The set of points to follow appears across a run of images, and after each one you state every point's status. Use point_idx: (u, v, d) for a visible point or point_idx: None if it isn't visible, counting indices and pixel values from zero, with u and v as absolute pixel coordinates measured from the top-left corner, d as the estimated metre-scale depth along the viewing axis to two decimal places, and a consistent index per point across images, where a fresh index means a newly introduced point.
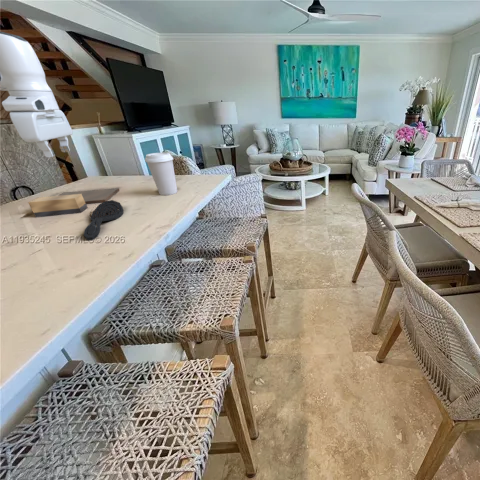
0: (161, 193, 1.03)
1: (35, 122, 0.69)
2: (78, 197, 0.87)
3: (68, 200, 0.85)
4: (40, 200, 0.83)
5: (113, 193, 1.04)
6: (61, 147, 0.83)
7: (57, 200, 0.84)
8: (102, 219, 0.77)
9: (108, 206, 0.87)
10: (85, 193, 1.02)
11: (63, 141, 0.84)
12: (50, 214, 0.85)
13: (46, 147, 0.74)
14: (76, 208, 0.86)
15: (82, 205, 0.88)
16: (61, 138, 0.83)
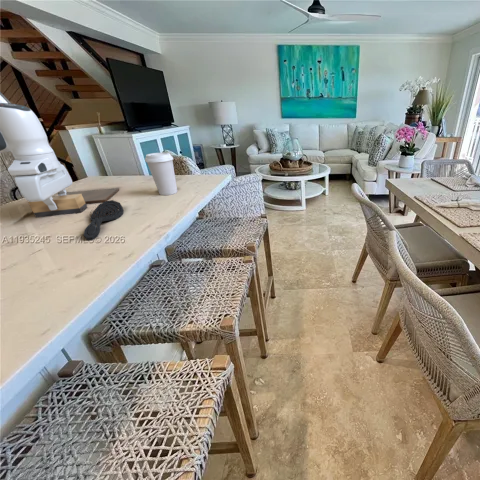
0: (161, 193, 1.03)
1: (38, 184, 0.75)
2: (78, 197, 0.87)
3: (68, 200, 0.85)
4: None
5: (113, 193, 1.04)
6: None
7: (57, 200, 0.84)
8: (102, 219, 0.77)
9: (108, 206, 0.87)
10: (85, 193, 1.02)
11: (61, 193, 0.89)
12: (50, 214, 0.85)
13: (51, 202, 0.82)
14: (76, 208, 0.86)
15: (82, 205, 0.88)
16: (60, 191, 0.88)
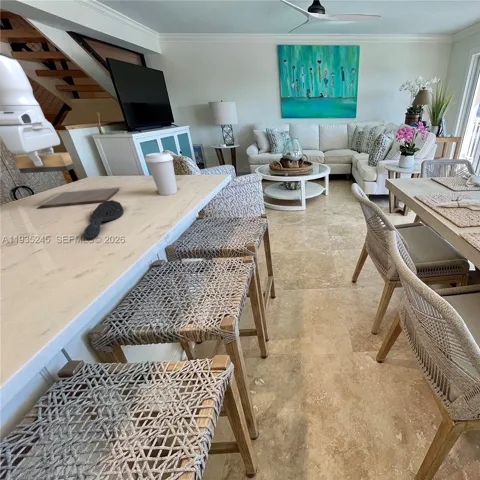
0: (161, 193, 1.03)
1: (21, 135, 0.74)
2: (65, 155, 0.85)
3: (54, 156, 0.83)
4: (25, 155, 0.81)
5: (113, 193, 1.04)
6: None
7: (43, 156, 0.82)
8: (102, 219, 0.77)
9: (108, 206, 0.87)
10: (85, 193, 1.02)
11: (48, 151, 0.87)
12: (36, 171, 0.83)
13: (36, 157, 0.80)
14: (63, 166, 0.85)
15: (69, 164, 0.87)
16: (46, 149, 0.86)
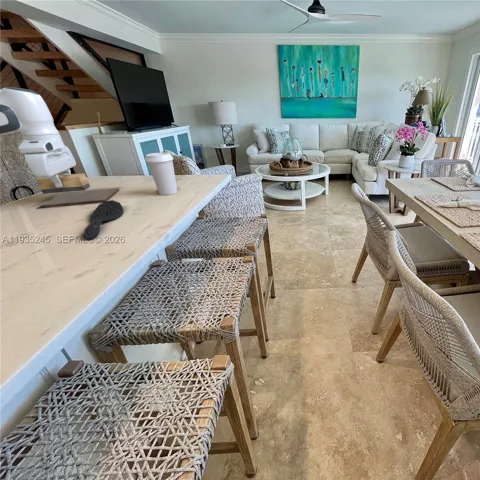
0: (161, 193, 1.03)
1: (46, 161, 0.83)
2: (82, 176, 0.95)
3: (73, 178, 0.92)
4: (47, 178, 0.91)
5: (113, 193, 1.04)
6: None
7: (62, 178, 0.91)
8: (102, 219, 0.77)
9: (108, 206, 0.87)
10: (85, 193, 1.02)
11: (66, 173, 0.96)
12: (56, 191, 0.92)
13: (57, 179, 0.89)
14: (80, 186, 0.94)
15: (85, 184, 0.96)
16: (64, 171, 0.95)
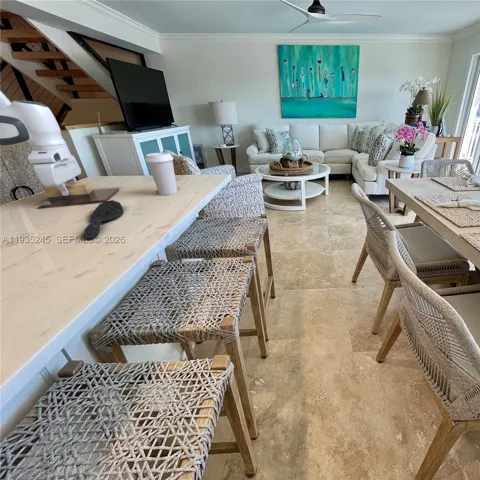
0: (161, 193, 1.03)
1: (54, 171, 0.86)
2: (87, 184, 0.98)
3: (79, 186, 0.95)
4: None
5: (113, 193, 1.04)
6: None
7: (68, 186, 0.94)
8: (102, 219, 0.77)
9: (108, 206, 0.87)
10: None
11: (72, 181, 0.99)
12: (62, 199, 0.95)
13: (63, 188, 0.92)
14: (85, 194, 0.97)
15: (90, 191, 0.99)
16: (70, 179, 0.98)
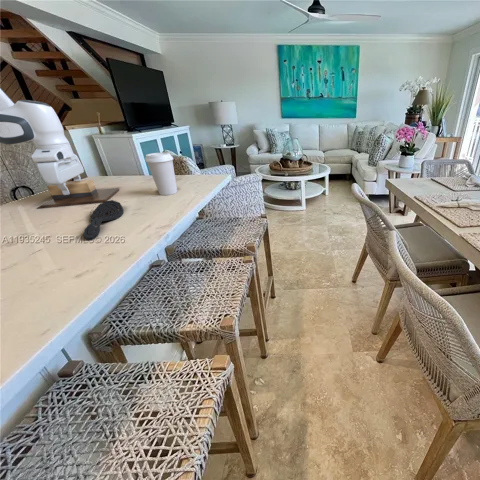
0: (161, 193, 1.03)
1: (57, 170, 0.88)
2: (90, 182, 1.00)
3: (82, 184, 0.97)
4: None
5: (113, 193, 1.04)
6: None
7: (72, 184, 0.96)
8: (102, 219, 0.77)
9: (108, 206, 0.87)
10: None
11: (76, 179, 1.02)
12: (65, 197, 0.97)
13: (64, 187, 0.93)
14: (88, 192, 0.99)
15: (93, 190, 1.01)
16: (75, 176, 1.01)
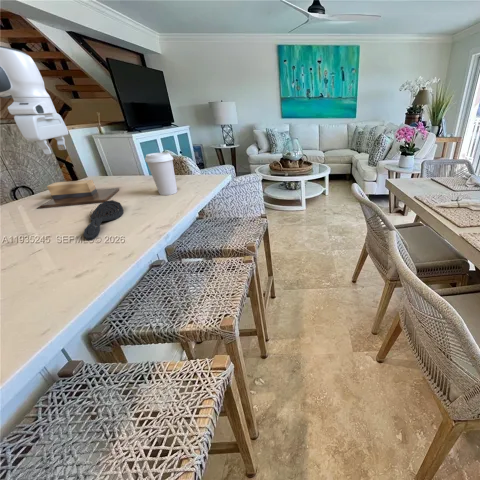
0: (161, 193, 1.03)
1: (36, 124, 0.81)
2: (90, 182, 1.00)
3: (82, 184, 0.97)
4: (57, 184, 0.95)
5: (113, 193, 1.04)
6: (58, 145, 0.95)
7: (72, 184, 0.96)
8: (102, 219, 0.77)
9: (108, 206, 0.87)
10: None
11: (60, 140, 0.96)
12: (65, 197, 0.97)
13: (45, 145, 0.86)
14: (88, 192, 0.99)
15: (93, 190, 1.01)
16: (58, 138, 0.95)
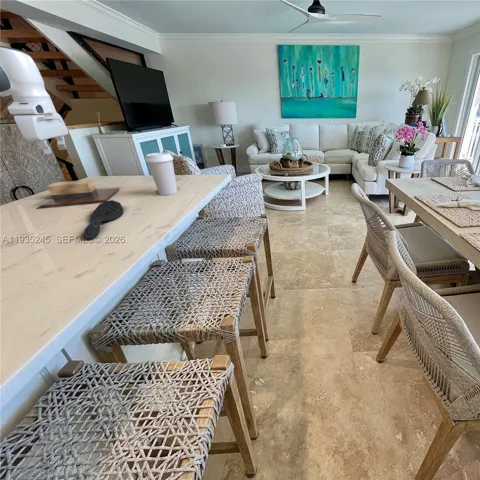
0: (161, 193, 1.03)
1: (36, 124, 0.81)
2: (90, 182, 1.00)
3: (82, 184, 0.97)
4: (57, 184, 0.95)
5: (113, 193, 1.04)
6: (58, 145, 0.95)
7: (72, 184, 0.96)
8: (102, 219, 0.77)
9: (108, 206, 0.87)
10: None
11: (60, 140, 0.96)
12: (65, 197, 0.97)
13: (45, 145, 0.86)
14: (88, 192, 0.99)
15: (93, 190, 1.01)
16: (58, 137, 0.95)
